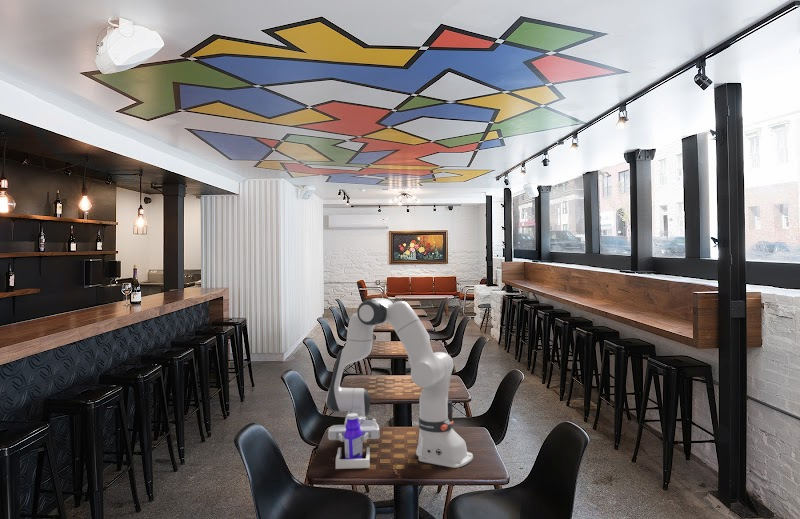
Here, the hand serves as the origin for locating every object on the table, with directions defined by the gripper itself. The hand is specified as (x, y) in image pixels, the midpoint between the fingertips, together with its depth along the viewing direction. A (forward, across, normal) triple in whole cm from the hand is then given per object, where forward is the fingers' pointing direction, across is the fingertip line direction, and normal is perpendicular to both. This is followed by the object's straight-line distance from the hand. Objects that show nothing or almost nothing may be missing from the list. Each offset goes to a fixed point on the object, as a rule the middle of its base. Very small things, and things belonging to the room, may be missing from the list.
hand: (353, 439), depth 182 cm
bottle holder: (-1, 0, +9) cm, 9 cm away
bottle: (-1, 0, +8) cm, 8 cm away
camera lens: (-26, +38, +9) cm, 47 cm away
